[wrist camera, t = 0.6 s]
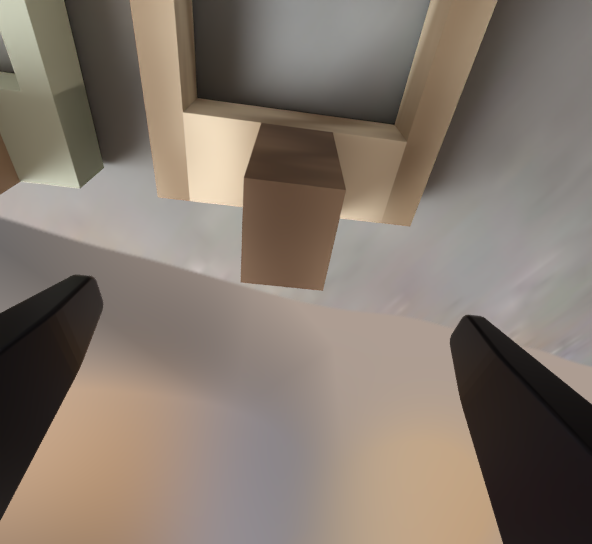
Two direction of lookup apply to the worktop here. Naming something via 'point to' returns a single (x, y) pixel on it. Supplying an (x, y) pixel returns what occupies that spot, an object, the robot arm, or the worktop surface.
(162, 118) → the ash sled frame
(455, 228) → the worktop surface
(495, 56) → the worktop surface
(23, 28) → the tray
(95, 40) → the worktop surface
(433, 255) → the worktop surface
